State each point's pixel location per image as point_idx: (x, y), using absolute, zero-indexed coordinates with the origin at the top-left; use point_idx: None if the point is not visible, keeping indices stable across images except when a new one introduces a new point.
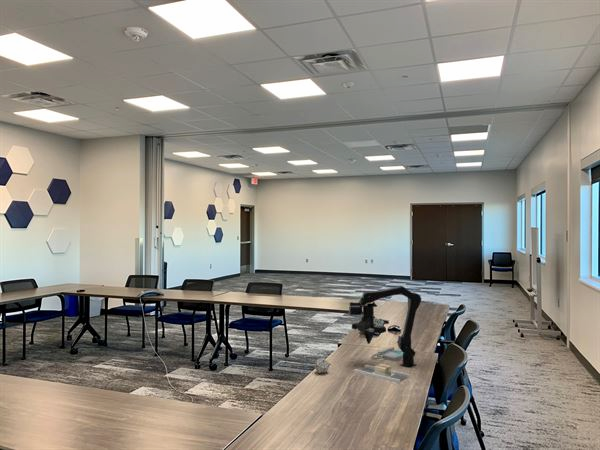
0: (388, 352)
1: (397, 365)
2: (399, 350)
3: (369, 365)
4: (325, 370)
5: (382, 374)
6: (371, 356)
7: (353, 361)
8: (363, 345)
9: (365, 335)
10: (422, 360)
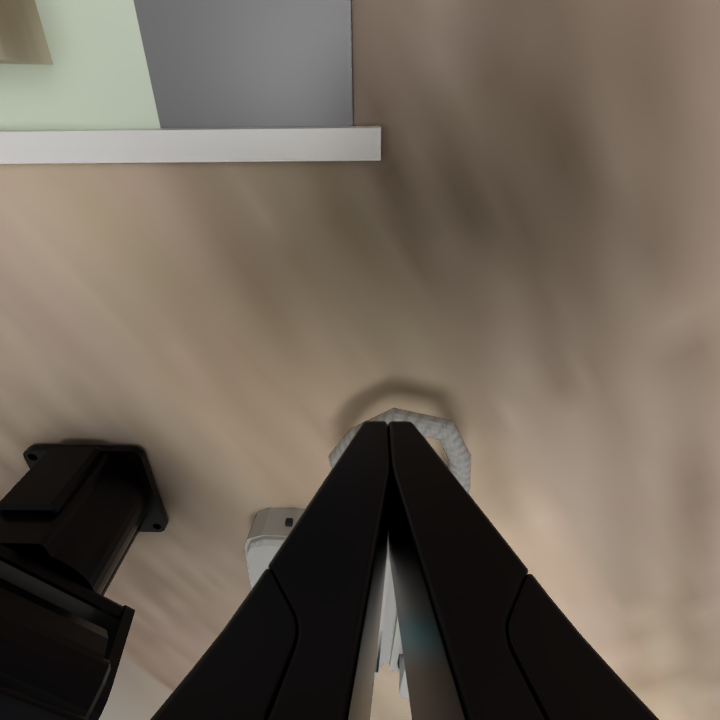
0: (397, 615)
1: (168, 439)
2: None
3: (310, 160)
4: None
5: None
6: (448, 431)
7: (645, 283)
8: (705, 677)
9: (567, 706)
10: (139, 615)
